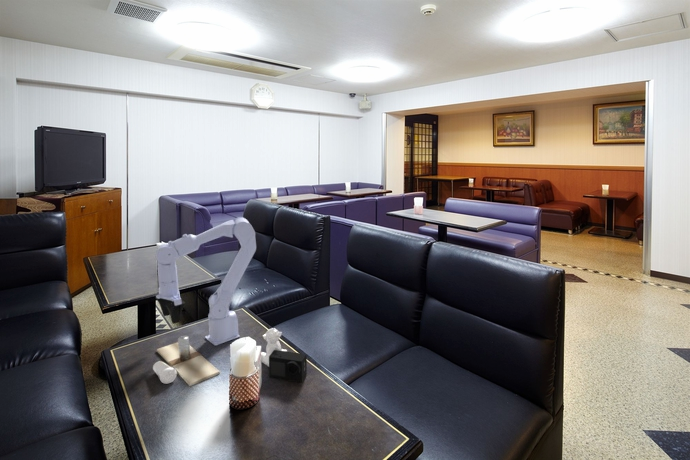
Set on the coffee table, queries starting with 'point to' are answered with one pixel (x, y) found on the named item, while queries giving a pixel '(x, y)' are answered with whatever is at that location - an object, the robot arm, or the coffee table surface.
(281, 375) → the digital camera
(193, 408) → the coffee table surface
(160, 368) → the white rounded piece
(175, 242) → the robot arm
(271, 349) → the seated beast figurine
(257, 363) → the ink cartridge box
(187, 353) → the steel peg
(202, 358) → the plywood panel
